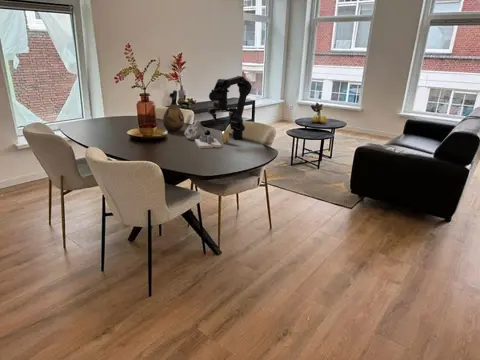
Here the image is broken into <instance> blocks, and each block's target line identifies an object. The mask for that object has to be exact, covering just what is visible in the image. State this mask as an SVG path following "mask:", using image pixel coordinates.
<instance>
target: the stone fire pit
mask: <svg viewBox="0 0 480 360" xmlns="http://www.w3.org/2000/svg"><path fill="white" fill-rule="evenodd" d="M194 143H195V144H196V145H197V146H198V148H199V149H211V148H213V147H215V148H222V143H220V141H218V139H217V138H215V137H214V135H205V134H204V135H199V138H196V139H195V140H194Z"/></svg>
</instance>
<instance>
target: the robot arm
mask: <svg viewBox="0 0 480 360" xmlns="http://www.w3.org/2000/svg"><path fill="white" fill-rule="evenodd" d="M214 85H215V86H214V87H213V89H211V92H209V95H208V98H209V100H210V101H211V102H213V103H212V105H213V107H208V108H207V113H208V114H209V115H211V116H212V118H213V122H214V124H215V125H216V124H217V114H216V113H227V112H228V124H229V126H230V130H232V131H231V138H232V139H233V138H234V139H233V140H244V138H243V132H244V131H245V129H246V126H245V125H244V119H243V117H242V116H243V114H244V113H243V112H244V109H245V104H246V100H247V97H248V96H249V94H250V93H251V91H252V89H253V88H252V87H253V86H252V84H251V83H250V81H248V80H247V79H246V78H245V77H244V76H242V75H236V76H234V77H230V78H227V79H226V78H221V79H220V78H218V79H217V81H216V83H215V84H214ZM233 85H236V86H237V87H238V93H239V97H238V101H237V105H236V107H228V102H229V101H228V93H229V92H230V90H229V88H231V86H233ZM216 101H217V102H216Z"/></svg>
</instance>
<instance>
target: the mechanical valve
mask: <svg viewBox="0 0 480 360" xmlns="http://www.w3.org/2000/svg"><path fill="white" fill-rule="evenodd" d="M200 128H201V129H202V131H203V132H204V135H209V136H211V131H210V130H208V129H206V128H205V127H204V126H203V125H202V124H201V121H200V120H197V119H196V120H195V122H193V124H189V125H188V127H187V128H186V129H185V131H184V137H185V138H186V139H188V140H191V141H195V139H198V137H200V133H201V130H200Z"/></svg>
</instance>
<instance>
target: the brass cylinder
mask: <svg viewBox="0 0 480 360" xmlns="http://www.w3.org/2000/svg"><path fill="white" fill-rule="evenodd" d="M221 134H222V135H221V144H222V143H223V144H222V145H229V144H228V143H230V131H228V130H223V131H222V132H221Z"/></svg>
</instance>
